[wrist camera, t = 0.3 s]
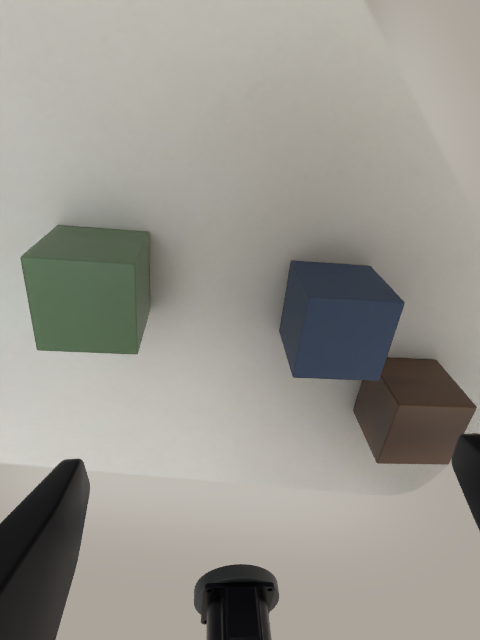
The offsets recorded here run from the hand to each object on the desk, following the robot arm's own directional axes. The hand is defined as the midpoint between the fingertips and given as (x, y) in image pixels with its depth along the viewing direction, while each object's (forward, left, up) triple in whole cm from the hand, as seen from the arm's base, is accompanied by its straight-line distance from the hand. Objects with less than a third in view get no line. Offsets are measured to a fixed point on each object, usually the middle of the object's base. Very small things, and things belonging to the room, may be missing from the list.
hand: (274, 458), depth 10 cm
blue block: (-2, -5, -14) cm, 15 cm away
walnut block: (-8, -11, -14) cm, 19 cm away
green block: (-1, +7, -14) cm, 15 cm away
